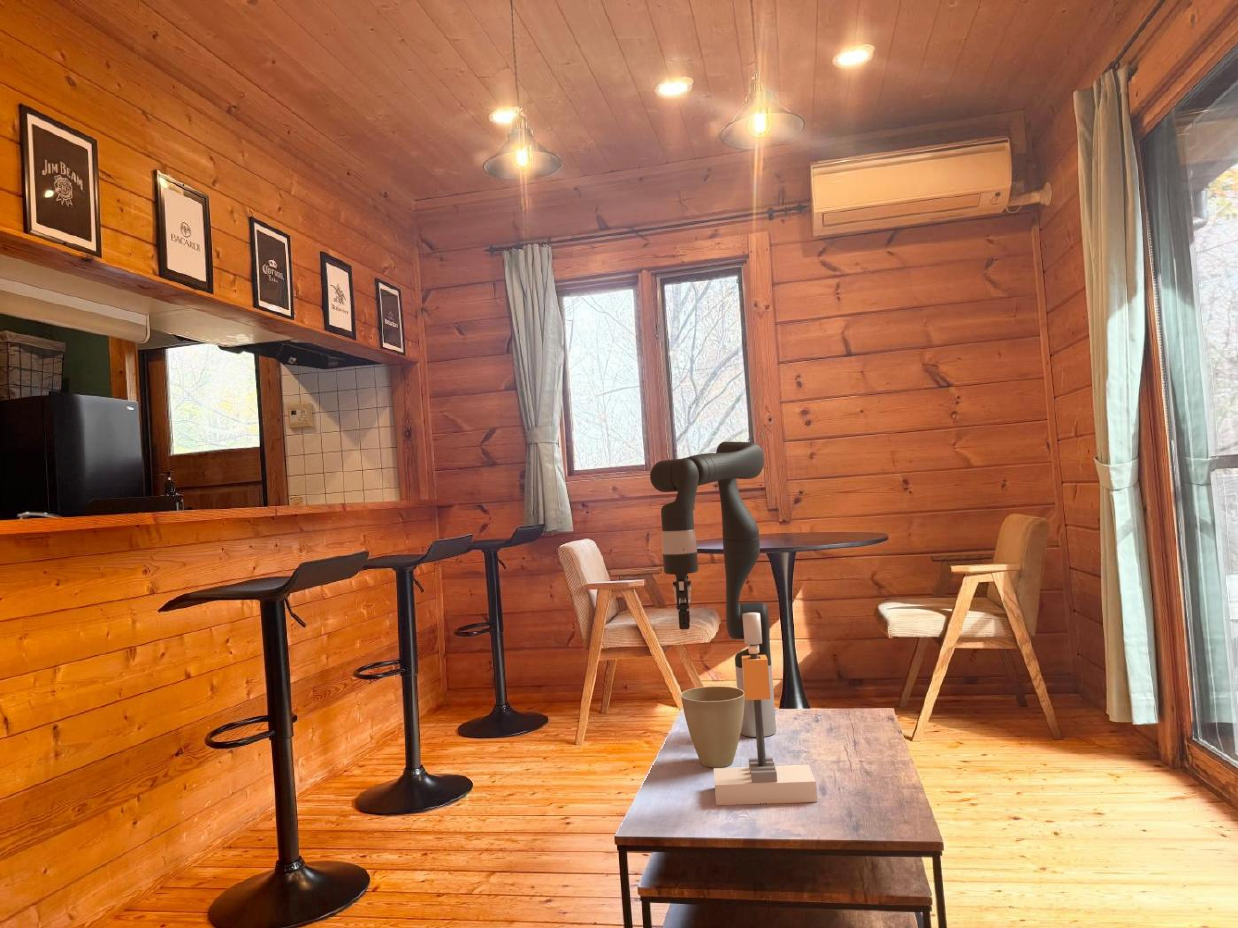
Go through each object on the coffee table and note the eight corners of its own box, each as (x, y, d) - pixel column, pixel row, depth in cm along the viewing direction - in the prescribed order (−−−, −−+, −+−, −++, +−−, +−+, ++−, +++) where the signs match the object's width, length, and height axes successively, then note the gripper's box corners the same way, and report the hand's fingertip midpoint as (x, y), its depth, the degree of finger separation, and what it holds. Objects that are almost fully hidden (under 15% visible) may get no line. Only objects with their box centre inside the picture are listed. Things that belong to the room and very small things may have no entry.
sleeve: (744, 694, 175) (741, 655, 176) (768, 693, 175) (765, 654, 175) (745, 700, 170) (742, 660, 171) (770, 699, 170) (767, 659, 170)
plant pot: (748, 773, 185) (743, 700, 186) (681, 773, 188) (676, 701, 188) (751, 751, 200) (746, 684, 200) (689, 752, 203) (684, 685, 203)
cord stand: (714, 787, 178) (702, 612, 179) (810, 783, 176) (797, 607, 177) (716, 805, 168) (703, 620, 169) (817, 801, 166) (803, 614, 167)
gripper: (697, 552, 174) (702, 630, 174) (696, 547, 189) (702, 619, 188) (661, 554, 175) (666, 632, 175) (663, 549, 189) (668, 621, 189)
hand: (684, 625), depth 181 cm, fingers open, 8 cm apart
